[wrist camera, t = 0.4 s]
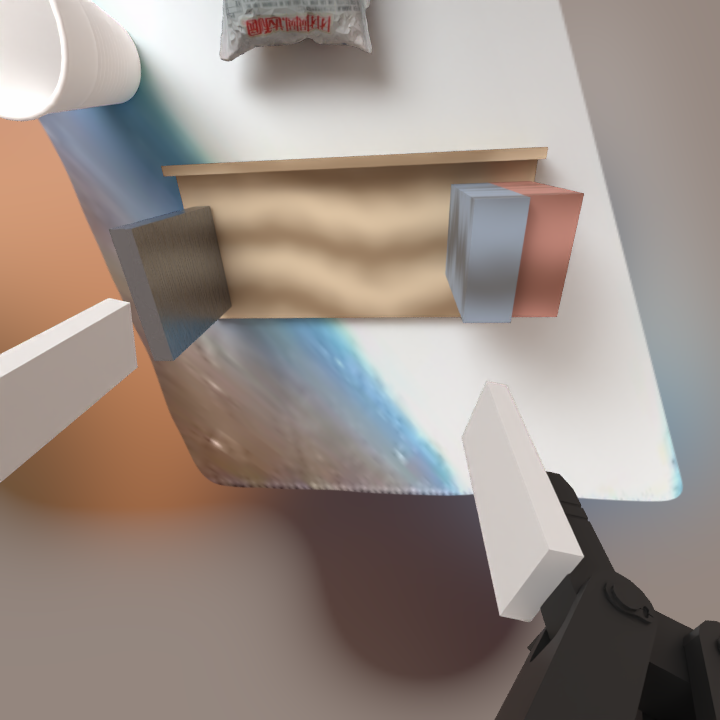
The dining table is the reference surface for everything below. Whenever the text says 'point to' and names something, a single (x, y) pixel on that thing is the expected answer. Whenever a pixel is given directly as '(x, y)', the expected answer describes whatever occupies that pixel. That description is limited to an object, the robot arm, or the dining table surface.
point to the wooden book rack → (389, 234)
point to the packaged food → (292, 24)
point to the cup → (62, 58)
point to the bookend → (174, 277)
